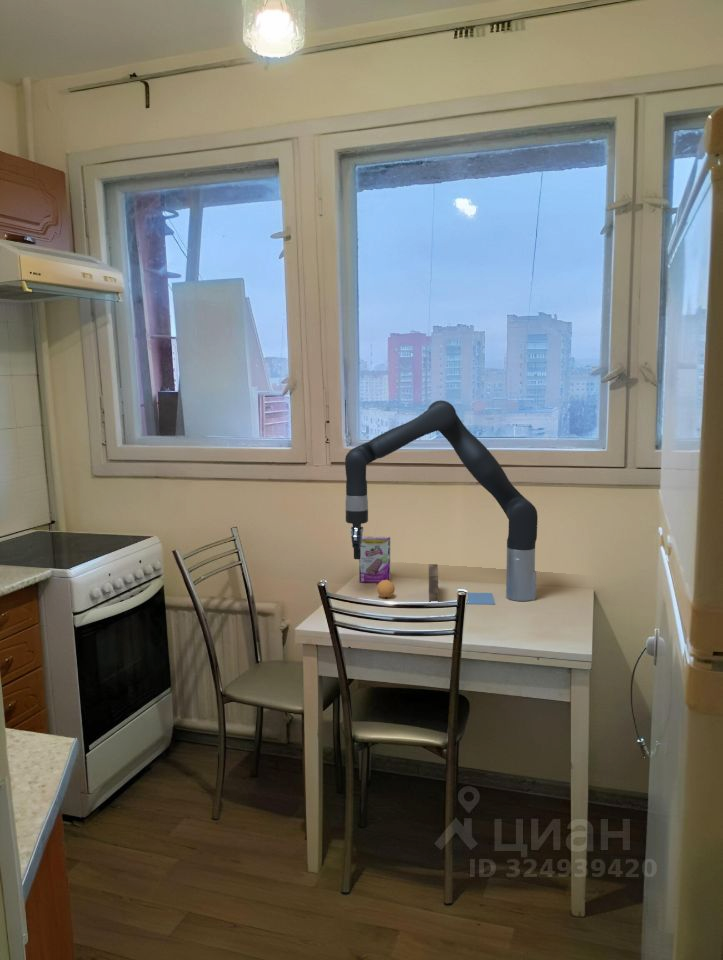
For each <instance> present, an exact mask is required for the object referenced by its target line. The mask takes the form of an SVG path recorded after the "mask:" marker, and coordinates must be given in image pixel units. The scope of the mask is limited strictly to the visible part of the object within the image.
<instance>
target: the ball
mask: <svg viewBox="0 0 723 960" xmlns="http://www.w3.org/2000/svg"><path fill="white" fill-rule="evenodd" d="M395 590H396V589H395V584H394V583H393V582H392V581H391V580H390V581H389V580H383V581H381V582H380V583H377V587H376V592H377V594H378V595H379V596H380V597H382V598H384V599H386V598H385V597H388V598H391V597H392V596H393V595H394V593H395Z"/></svg>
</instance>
